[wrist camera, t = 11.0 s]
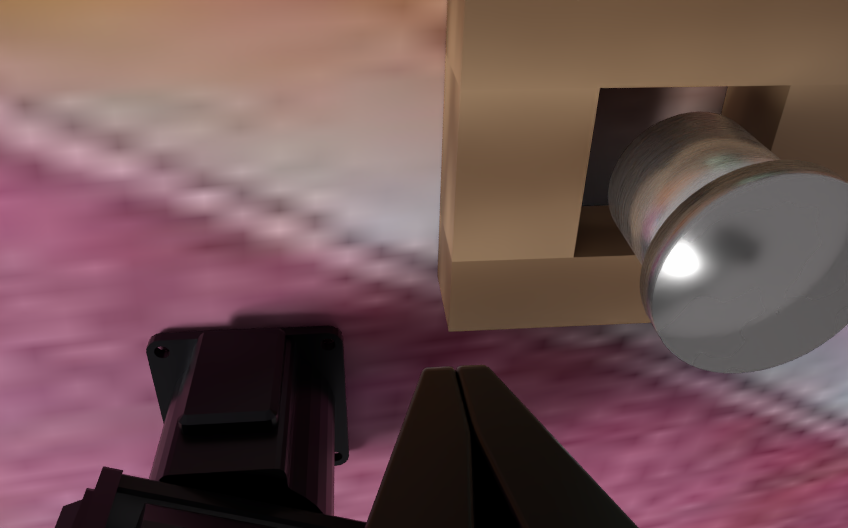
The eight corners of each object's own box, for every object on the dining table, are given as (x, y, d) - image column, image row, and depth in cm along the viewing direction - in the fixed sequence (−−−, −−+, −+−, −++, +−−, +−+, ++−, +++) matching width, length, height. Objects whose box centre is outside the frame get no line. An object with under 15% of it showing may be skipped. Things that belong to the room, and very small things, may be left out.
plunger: (747, 259, 21) (840, 367, 17) (577, 265, 20) (633, 378, 17) (799, 91, 18) (926, 174, 14) (604, 94, 18) (679, 180, 14)
